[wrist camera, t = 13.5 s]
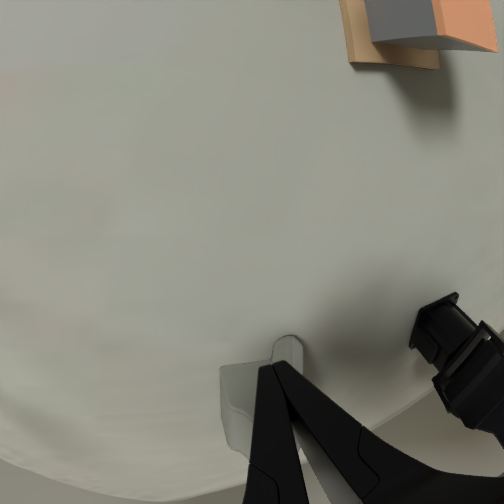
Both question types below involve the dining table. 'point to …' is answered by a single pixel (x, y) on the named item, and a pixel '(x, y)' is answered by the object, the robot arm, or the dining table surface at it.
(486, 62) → the dining table surface
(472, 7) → the grey-topped salmon cube
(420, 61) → the tan piece
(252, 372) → the digital clock
